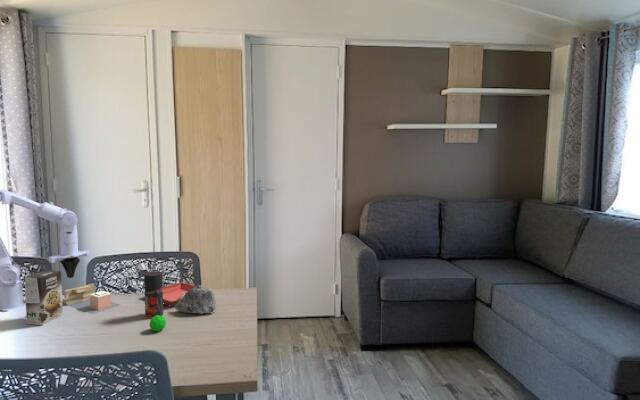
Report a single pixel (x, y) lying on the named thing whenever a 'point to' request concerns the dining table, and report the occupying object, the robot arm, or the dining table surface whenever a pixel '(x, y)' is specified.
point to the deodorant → (153, 294)
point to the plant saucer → (175, 292)
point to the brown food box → (43, 297)
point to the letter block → (100, 300)
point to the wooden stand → (78, 294)
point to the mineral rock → (197, 301)
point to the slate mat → (86, 306)
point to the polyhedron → (157, 323)
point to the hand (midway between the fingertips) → (70, 277)
